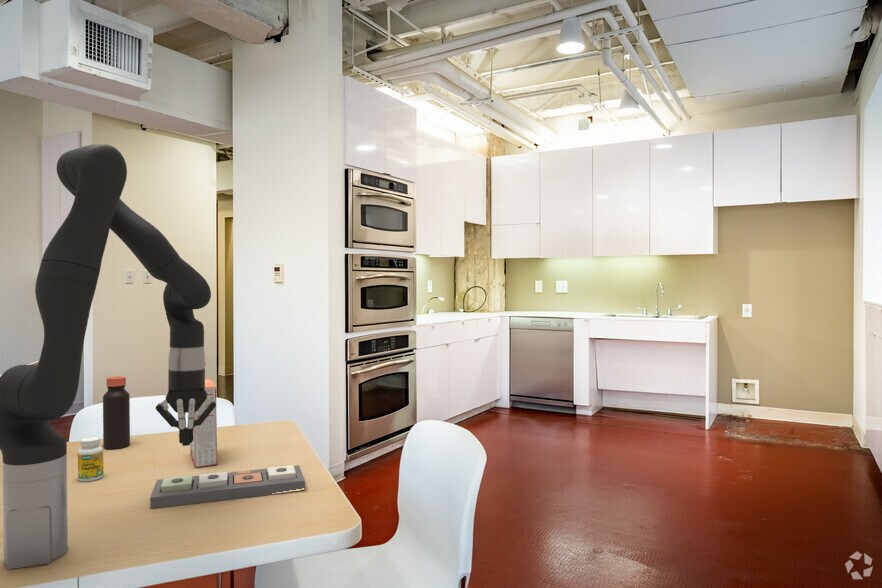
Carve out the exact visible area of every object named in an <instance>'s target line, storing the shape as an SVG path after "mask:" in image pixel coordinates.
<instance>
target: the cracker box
mask: <svg viewBox="0 0 882 588" xmlns="http://www.w3.org/2000/svg"><path fill="white" fill-rule="evenodd" d="M205 391H206V393H207V397H208V398H210V399H211V400H212V401H216V402H217V386H216V385H215V384H214V382H213V380H211V378H205ZM205 404H206V402H205V401H204V403H203V404H202V405H201V407H200V408H199V409H198V411H196V412H195V419H194V420H196V419H198V418H199V416H200V415H201V414H202V413H203V412H204V410H205V409H206V408H205ZM217 414H218V413H217V406H216V407H215V408H214V409H213V410H212V412H211V413H210V414H209V415H208V417H207V418H206V419H205V420H204V421H203V423H202V424H201V425H199V426H195V427H194V439H193V441H192V443H190V445H189V448H190V456H191V459H192V463H193V466H194V469H196V468H204V467H211V466H217V465H218V430H217V429H218V428H217V427H218V424H217V423H218V422H217V421H218V420H217Z"/></svg>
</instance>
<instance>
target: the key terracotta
mask: <svg viewBox="0 0 882 588" xmlns="http://www.w3.org/2000/svg"><path fill="white" fill-rule="evenodd" d="M253 482H262V476H261V472H260V473H251V474H241V475H234V485H235V484H244V483H253Z"/></svg>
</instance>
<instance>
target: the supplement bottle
mask: <svg viewBox="0 0 882 588" xmlns="http://www.w3.org/2000/svg"><path fill="white" fill-rule="evenodd" d="M100 440H101V439H100V437H97V436H93V437H92V436H91V437H84V438H82V439H81V440H80V446H81V447H80V448H79V449H78V450H77V478H78V479H77V480H78V481H79V482H93V481H98V480H99V479H102V478H103V477H104V475H105V471H104V447H103V446H102V445H100V443H101V441H100Z"/></svg>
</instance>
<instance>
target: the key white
mask: <svg viewBox="0 0 882 588" xmlns="http://www.w3.org/2000/svg"><path fill="white" fill-rule="evenodd" d="M227 473H228V471H223V472H212V473H204V474H202V473H201V474H199V475H198V476H199V482H198V488H207V487H216V486H225V485H227Z"/></svg>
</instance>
